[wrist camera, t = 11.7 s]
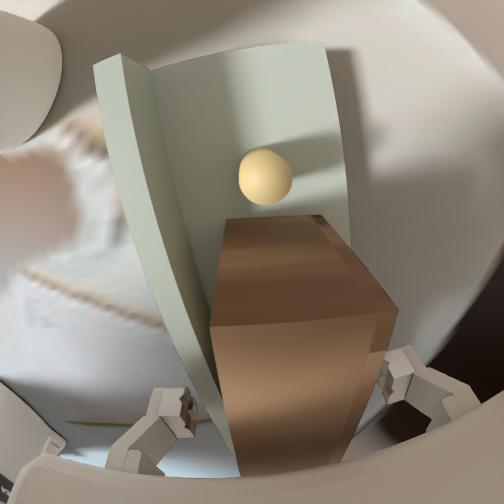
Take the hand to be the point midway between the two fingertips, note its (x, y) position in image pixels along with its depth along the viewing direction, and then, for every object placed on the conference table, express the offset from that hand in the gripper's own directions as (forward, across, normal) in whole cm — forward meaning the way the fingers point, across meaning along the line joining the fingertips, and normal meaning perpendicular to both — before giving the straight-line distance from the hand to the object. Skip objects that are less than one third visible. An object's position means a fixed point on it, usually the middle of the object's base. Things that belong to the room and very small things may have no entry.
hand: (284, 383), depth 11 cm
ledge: (+6, 0, 0) cm, 6 cm away
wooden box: (+4, 0, 0) cm, 4 cm away
